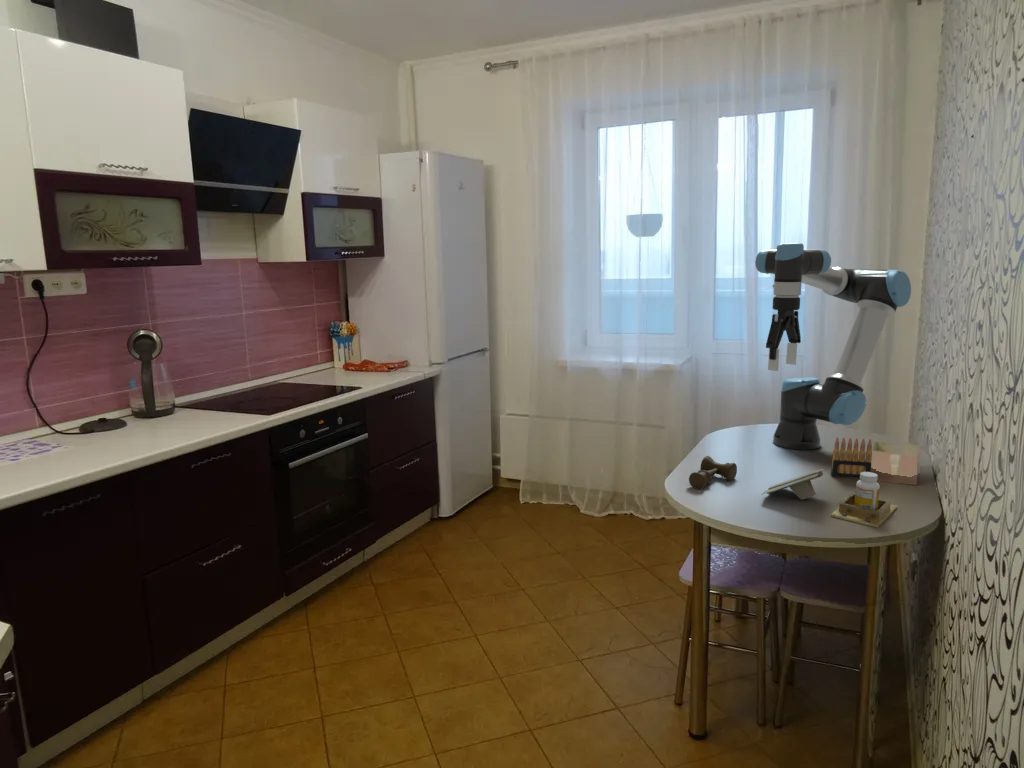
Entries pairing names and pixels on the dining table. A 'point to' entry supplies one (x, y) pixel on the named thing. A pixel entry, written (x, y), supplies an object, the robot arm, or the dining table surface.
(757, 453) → the dining table surface
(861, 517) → the wooden holder tray
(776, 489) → the grey tablet stand
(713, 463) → the kendama
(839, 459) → the ammunition clip
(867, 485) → the supplement bottle
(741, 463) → the dining table surface
